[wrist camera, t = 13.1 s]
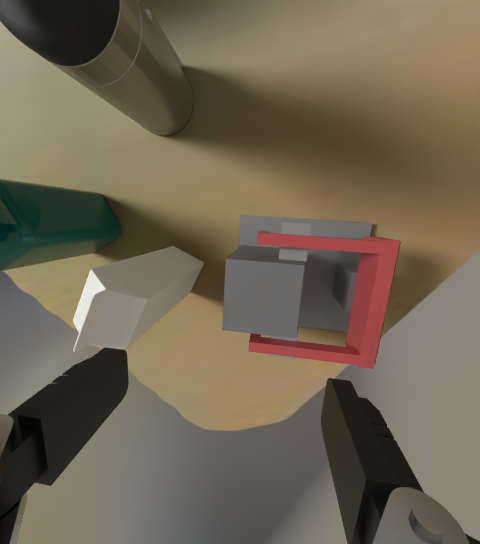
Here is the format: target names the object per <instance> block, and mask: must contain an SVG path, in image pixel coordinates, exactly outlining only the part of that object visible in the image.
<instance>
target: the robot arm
mask: <svg viewBox="0 0 480 544" xmlns="http://www.w3.org/2000/svg"><path fill="white" fill-rule="evenodd" d="M0 21H1V22H2V23H3V25H4V26H5V27H6V28H7V29H8V30H9V31H10V32H11V33H12V34H13V35H14V36H15V37H16V38H17V39H18V40H20V41H21V42H22V43H24V44H25V45H26V46H28V47H29V48H30V49H32V50H33V51H35V52H36V53H38V54H39V55H40V56H42V57H43V58H45V59H46V60H48V61H49V62H50V63H52V64H53V65H55V66H56V67H58V68H59V69H60V70H62V71H63V72H65V73H66V74H68V75H69V76H71V77H72V78H73V79H75V80H76V81H78V82H79V83H81V84H82V85H84V86H85V87H86V88H88V89H89V90H91V91H92V92H94V93H95V94H96V95H98V96H99V97H101V98H102V99H104V100H105V101H107V102H108V103H109V104H111V105H112V106H114V107H115V108H117V109H118V110H119V111H121V112H122V113H124V114H125V115H127V116H128V117H129V118H131V119H132V120H134V121H135V122H137V123H138V124H140V125H141V126H142V127H143V128H145V129H147V130H148V131H150V132H151V133H154V134H156V135H162V136H166V135H171V134H174V133H176V132H178V131H179V130H181V129H182V128H183V127H184V126H185V125H186V123H187V121H188V120H189V118H190V115H191V113H192V108H193V93H192V89H191V86H190V83H189V81H188V80H187V78H186V76H185V75H184V71H183V70H184V66H183V64H182V62H181V61H180V59H179V57H178V56H177V54H176V52H175V51H174V49H173V47H172V45H171V44H170V42H169V40H168V39H167V37H166V35H165V34H164V32H163V30H162V29H161V27H160V25H159V23H158V22H157V20H156V18H155V17H154V15H153V13H152V12H151V11H150V10H149V9H144V8H143V7H142V5H141V3H140V2H139V0H0ZM127 389H128V363H127V353H126V351H125V350H123V349H115V348H108V347H106V348H103V349H102V350H101V351H99V352H98V353H97V354H95V355H94V356H93V357H92V358H89V359H87V360H84V361H82V362H80V363H78V364H76V365H74V366H73V367H71V368H70V369H69V370H67V371H66V372H65V373H63V374H62V376H59V377H58V378H56V379H55V380H54V381H52V383H51V384H48V385H47V386H46V387H44V388H43V389H42V390H40V391H39V392H37V393H36V394H35V395H33V396H32V397H31V398H29V399H28V400H27V401H25V402H24V403H23V404H21V405H20V406H19V407H17V408H16V409H15V410H13V411H12V412H11V413H9V414H8V415H4V414H0V544H16V543H17V539H18V535H19V531H20V527H21V523H22V518H23V515H24V510H25V506H26V502H27V491H28V490H29V488H30V487H31V486H32V485H33V484H34V483H40V484H45V485H50V486H51V485H52V484H53V483H54V481H55V480H56V479H57V478H58V477H59V475H60V474H61V473H62V472H63V471H64V469H65V468H66V467H67V466H68V465H69V463H70V462H71V461H72V460H73V459H74V457H75V456H76V455H77V454H78V453H79V451H80V450H81V449H82V448H83V446H84V445H85V444H86V443H87V442H88V441H89V439H90V438H91V437H92V436H93V435H94V433H95V432H96V431H97V430H98V428H99V427H100V426H101V425H102V424H103V422H104V421H105V420H106V419H107V418H108V416H109V415H110V414H111V413H112V411H113V410H114V409H115V408H116V407H117V406H118V404H119V403H120V402H121V401H122V399H123V398H124V396H125V394H126V392H127ZM321 426H322V433H323V438H324V442H325V446H326V451H327V455H328V460H329V464H330V468H331V473H332V477H333V482H334V486H335V490H336V494H337V499H338V504H339V508H340V512H341V517H342V521H343V526H344V530H345V534H346V539H347V543H348V544H480V541H478V540H476V539H474V538H472V537H470V536H468V535H467V534H465V533H464V531H463V530H462V528H461V526H460V525H459V524H458V522H457V521H456V520H455V519H454V517H453V516H452V515H451V514H450V513H449V512H448V511H447V510H446V509H445V508H444V507H443V506H442V505H441V504H439V503H438V502H437V501H436V500H434V499H433V498H432V497H430V496H428V495H427V494H425V493H424V492H423V490H422V488H421V486H420V484H419V483H418V481H417V479H416V477H415V475H414V473H413V472H412V470H411V468H410V466H409V464H408V462H407V461H406V459H405V457H404V455H403V453H402V451H401V450H400V448H399V446H398V444H397V442H396V441H395V440H394V437H393V435H392V433H391V431H390V430H389V428H387V424H386V422H385V420H384V419H383V417H382V415H381V413H380V411H379V410H378V409H377V408H376V407H375V406H374V405H373V404H372V403H371V402H370V401H369V400H368V399H366V398H360V397H358V395H357V393H356V391H355V389H354V387H353V385H352V383H351V381H346V380H338V379H332V378H328V380H327V383H326V389H325V395H324V402H323V408H322V416H321Z"/></svg>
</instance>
